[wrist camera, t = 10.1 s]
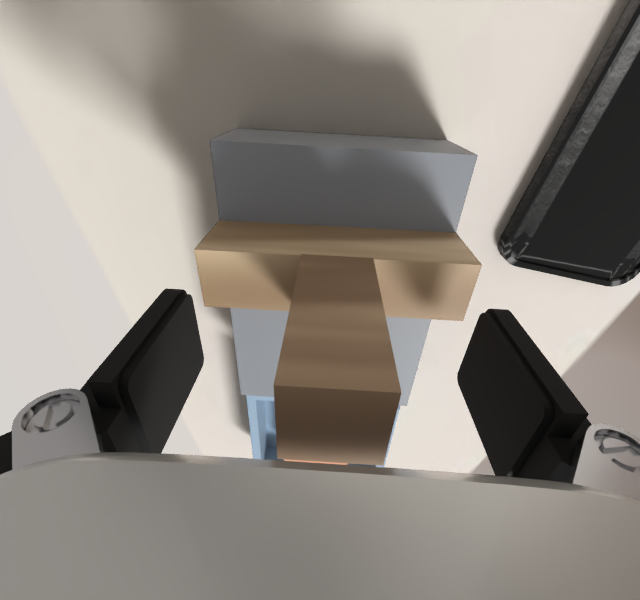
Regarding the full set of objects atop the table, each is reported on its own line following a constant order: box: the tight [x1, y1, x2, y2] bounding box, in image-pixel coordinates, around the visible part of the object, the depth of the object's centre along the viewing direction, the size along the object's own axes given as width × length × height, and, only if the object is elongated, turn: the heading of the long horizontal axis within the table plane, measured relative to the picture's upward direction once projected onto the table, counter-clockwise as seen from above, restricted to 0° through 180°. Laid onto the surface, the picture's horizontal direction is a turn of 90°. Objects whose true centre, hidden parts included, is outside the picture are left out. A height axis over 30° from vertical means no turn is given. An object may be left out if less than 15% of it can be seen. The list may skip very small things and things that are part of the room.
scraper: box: [194, 220, 482, 466], centre depth 11 cm, size 2×10×9 cm, turn 88°
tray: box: [246, 395, 400, 467], centre depth 25 cm, size 10×10×3 cm
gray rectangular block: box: [210, 128, 478, 406], centre depth 18 cm, size 14×10×4 cm
